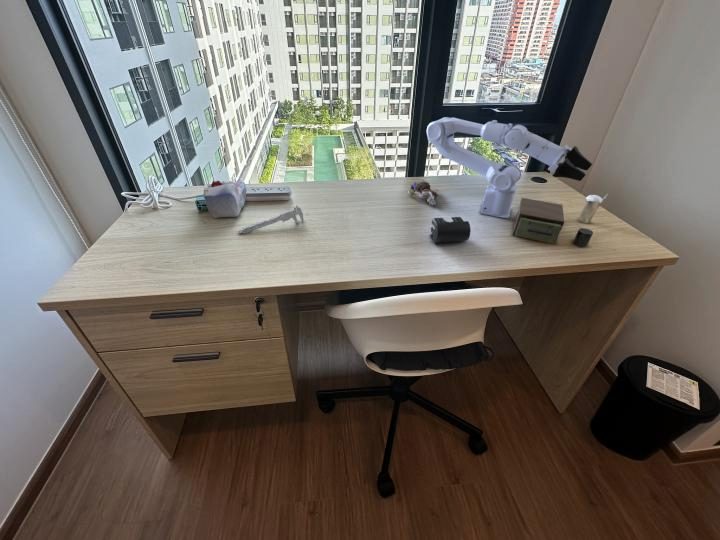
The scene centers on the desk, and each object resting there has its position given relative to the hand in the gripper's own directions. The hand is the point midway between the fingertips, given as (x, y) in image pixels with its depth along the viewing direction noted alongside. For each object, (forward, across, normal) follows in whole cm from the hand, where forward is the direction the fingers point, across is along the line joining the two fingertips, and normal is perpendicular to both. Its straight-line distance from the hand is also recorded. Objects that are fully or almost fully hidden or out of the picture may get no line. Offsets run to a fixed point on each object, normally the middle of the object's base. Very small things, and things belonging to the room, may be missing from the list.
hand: (586, 172), depth 95 cm
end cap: (-20, -32, +22) cm, 44 cm away
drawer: (-1, -13, +18) cm, 22 cm away
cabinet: (-2, -8, +20) cm, 21 cm away
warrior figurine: (-40, -9, +31) cm, 51 cm away
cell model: (-88, -62, +38) cm, 114 cm away
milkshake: (+10, +10, +19) cm, 23 cm away
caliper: (-66, -61, +32) cm, 96 cm away
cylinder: (+11, -8, +16) cm, 21 cm away
